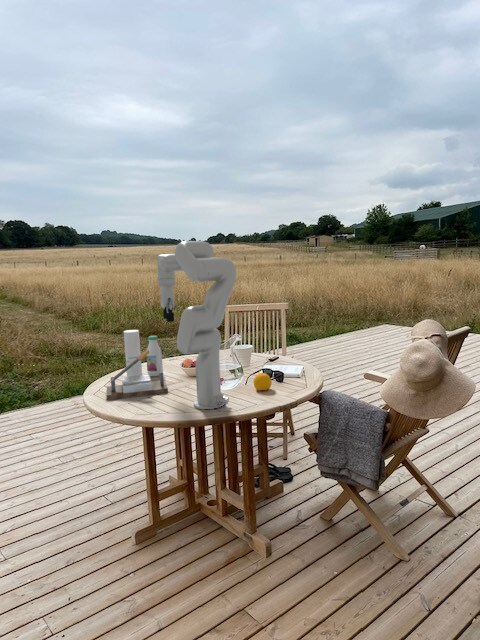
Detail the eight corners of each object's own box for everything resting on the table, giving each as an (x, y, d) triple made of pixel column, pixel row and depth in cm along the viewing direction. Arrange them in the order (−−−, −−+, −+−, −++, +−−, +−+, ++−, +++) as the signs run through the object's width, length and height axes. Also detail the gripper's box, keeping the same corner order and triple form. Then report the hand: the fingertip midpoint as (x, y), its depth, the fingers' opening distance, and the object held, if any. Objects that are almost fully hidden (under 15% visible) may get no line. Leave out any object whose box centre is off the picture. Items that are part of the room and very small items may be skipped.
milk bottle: (157, 371, 236) (155, 334, 233) (166, 374, 231) (163, 335, 228) (144, 375, 231) (142, 336, 228) (152, 377, 225) (150, 338, 222)
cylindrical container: (138, 384, 215) (135, 332, 211) (124, 383, 217) (120, 332, 213) (144, 379, 222) (141, 329, 218) (131, 379, 223) (127, 329, 220)
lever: (112, 382, 197) (111, 381, 197) (112, 380, 202) (111, 378, 201) (149, 352, 200) (148, 350, 200) (149, 350, 204) (147, 349, 204)
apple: (271, 392, 195) (270, 375, 193) (252, 392, 196) (252, 375, 194) (272, 387, 202) (271, 370, 201) (254, 387, 203) (254, 370, 202)
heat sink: (111, 394, 193) (110, 381, 193) (111, 386, 206) (110, 373, 206) (164, 388, 199) (164, 375, 199) (161, 380, 212) (160, 368, 212)
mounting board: (106, 400, 193) (106, 395, 193) (107, 390, 206) (106, 386, 206) (168, 392, 200) (167, 388, 200) (164, 384, 213) (164, 380, 213)
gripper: (155, 281, 209) (158, 317, 212) (160, 284, 193) (163, 323, 196) (172, 280, 211) (174, 316, 214) (178, 283, 195) (180, 322, 198)
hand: (168, 320), depth 205 cm, fingers open, 9 cm apart
